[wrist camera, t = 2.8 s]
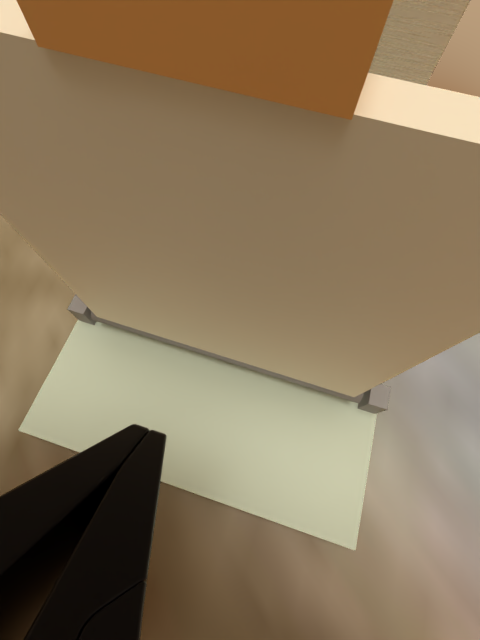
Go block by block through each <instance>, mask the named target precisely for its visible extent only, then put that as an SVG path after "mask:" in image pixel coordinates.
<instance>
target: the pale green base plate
mask: <svg viewBox="0 0 480 640" xmlns="http://www.w3.org/2000/svg"><path fill="white" fill-rule="evenodd" d="M68 310H69V311H70V312H71V313H72V314H73V315H74V316H75V317H76V318H77V319H78V321H77V323H76V325H75V327H74V328H73V330H72V332H71V334H70V336H69V338H68V339H67V341H66V343H65V345H64V347H63V349H62V351H61V352H60V354H59V356H58V358H57V360H56V362H55V363H54V365H53V367H52V369H51V371H50V373H49V375H48V376H47V378H46V380H45V382H44V384H43V386H42V387H41V389H40V391H39V393H38V395H37V397H36V399H35V400H34V402H33V404H32V406H31V408H30V410H29V411H28V413H27V415H26V417H25V419H24V421H23V423H22V424H21V426H20V428H19V430H18V431H21V432H24V433H27V434H29V435H32V436H35V437H38V438H41V439H43V440H46V441H49V442H52V443H55V444H57V445H60V446H63V447H66V448H69V449H71V450H74V451H77V452H82V451H84V450H86V449H88V448H89V447H91V446H93V445H95V444H97V443H99V442H100V441H102V440H104V439H106V438H108V437H110V436H111V435H113V434H115V433H117V432H119V431H121V430H122V429H124V428H126V427H128V426H130V425H132V424H137V425H140V426H143V427H146V428H148V429H149V430H155V431H158V432H161V433H164V434H166V436H167V438H166V445H165V452H164V460H163V467H162V474H161V482H164V483H167V484H170V485H172V486H175V487H178V488H181V489H184V490H186V491H189V492H192V493H195V494H198V495H200V496H203V497H206V498H209V499H212V500H214V501H217V502H220V503H223V504H226V505H228V506H231V507H234V508H237V509H240V510H242V511H245V512H248V513H251V514H254V515H256V516H259V517H262V518H265V519H268V520H271V521H273V522H276V523H279V524H282V525H285V526H287V527H290V528H293V529H296V530H299V531H301V532H304V533H307V534H310V535H313V536H315V537H318V538H321V539H324V540H327V541H329V542H332V543H335V544H338V545H341V546H343V547H346V548H349V549H352V550H355V551H356V544H357V538H358V532H359V525H360V519H361V512H362V506H363V500H364V493H365V487H366V481H367V474H368V468H369V462H370V455H371V449H372V443H373V436H374V430H375V423H376V417H377V413H379V412H382V411H385V410H388V404H389V397H390V390H391V387H390V386H386V385H383V384H382V383H381V384H379V385H377V386H375V387H373V388H372V389H370V390H368V391H366V392H364V394H363V397H362V399H361V401H360V402H359V403H355V402H352V401H349V400H346V399H343V398H340V397H336V396H333V395H330V394H327V393H324V392H321V391H317V390H314V389H311V388H308V387H305V386H301V385H298V384H295V383H292V382H289V381H286V380H282V379H279V378H276V377H273V376H270V375H266V374H263V373H260V372H257V371H254V370H251V369H247V368H244V367H241V366H238V365H235V364H231V363H228V362H225V361H222V360H219V359H216V358H212V357H209V356H206V355H203V354H200V353H197V352H193V351H190V350H187V349H184V348H181V347H177V346H174V345H171V344H168V343H165V342H162V341H158V340H155V339H152V338H149V337H146V336H142V335H139V334H136V333H133V332H130V331H127V330H123V329H120V328H117V327H114V326H111V325H108V324H104V323H101V322H98V321H95V320H93V319H92V318H91V310H90V309H89V308H88V307H87V306H86V305H85V304H84V303H83V302H82V300H81V299H80V298H79V297H78V296H77V295H76V294H75V296H74V298H73V300H72V302H71V303H70V305H69V307H68Z"/></svg>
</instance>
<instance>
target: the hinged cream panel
mask: <svg viewBox="0 0 480 640" xmlns="http://www.w3.org/2000/svg"><path fill="white" fill-rule="evenodd" d="M392 3H393V0H0V214H1V215H2V216H3V217H4V218H5V220H6V221H7V222H8V223H9V224H10V225H11V226H12V227H13V228H14V229H15V230H16V231H17V232H18V233H19V234H20V236H21V237H22V238H23V239H24V240H25V241H26V242H27V243H28V244H29V245H30V246H31V247H32V248H33V249H34V250H35V252H36V253H37V254H38V255H39V256H40V257H41V258H42V259H43V260H44V261H45V262H46V263H47V264H48V265H49V266H50V267H51V269H52V270H53V271H54V272H55V273H56V274H57V275H58V276H59V277H60V278H61V279H62V280H63V281H64V282H65V283H66V285H67V286H68V287H69V288H70V289H71V290H72V291H73V292H74V293H75V294H76V295H77V296H78V297H79V298H80V299H81V300H82V302H83V303H84V304H85V305H86V306H87V307H88V308H89V309H90V310H91V318H92V319H93V320H95V321H98V322H101V323H104V324H108V325H111V326H114V327H117V328H120V329H123V330H127V331H130V332H133V333H136V334H139V335H142V336H146V337H149V338H152V339H155V340H158V341H162V342H165V343H168V344H171V345H174V346H177V347H181V348H184V349H187V350H190V351H193V352H197V353H200V354H203V355H206V356H209V357H212V358H216V359H219V360H222V361H225V362H228V363H231V364H235V365H238V366H241V367H244V368H247V369H251V370H254V371H257V372H260V373H263V374H266V375H270V376H273V377H276V378H279V379H282V380H286V381H289V382H292V383H295V384H298V385H301V386H305V387H308V388H311V389H314V390H317V391H321V392H324V393H327V394H330V395H333V396H336V397H340V398H343V399H346V400H349V401H352V402H355V403H359V402H360V401H361V399H362V397H363V394H364V392H366V391H368V390H370V389H372V388H373V387H375V386H377V385H379V384H381V383H383V382H385V381H387V380H389V379H391V378H393V377H395V376H397V375H399V374H401V373H402V372H404V371H406V370H408V369H410V368H412V367H414V366H416V365H418V364H420V363H422V362H424V361H426V360H428V359H429V358H431V357H433V356H435V355H437V354H439V353H441V352H443V351H445V350H447V349H449V348H451V347H453V346H455V345H456V344H458V343H460V342H462V341H464V340H466V339H468V338H470V337H472V336H474V335H476V334H478V333H480V97H476V96H472V95H467V94H463V93H458V92H453V91H449V90H445V89H440V88H435V87H431V86H426V85H422V84H417V83H413V82H408V81H404V80H399V79H395V78H390V77H386V76H381V75H376V74H372V73H368V72H369V69H370V66H371V63H372V60H373V57H374V55H375V52H376V49H377V46H378V43H379V40H380V37H381V35H382V32H383V29H384V26H385V23H386V20H387V17H388V15H389V12H390V9H391V6H392Z"/></svg>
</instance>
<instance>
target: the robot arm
mask: <svg viewBox="0 0 480 640" xmlns="http://www.w3.org/2000/svg"><path fill="white" fill-rule="evenodd" d="M166 438H167V436H166V434H164V433H161V432H158V431H155V430H149V429H148V428H146V427H143V426H140V425H137V424H132V425H130V426H128V427H126V428H124V429H122V430H121V431H119V432H117V433H115V434H113V435H111V436H110V437H108V438H106V439H104V440H102V441H100V442H99V443H97V444H95V445H93V446H91V447H89V448H88V449H86V450H84V451H82V452H80V453H78V454H77V455H75V456H73V457H71V458H69V459H67V460H66V461H64V462H62V463H60V464H58V465H56V466H55V467H53V468H51V469H49V470H47V471H45V472H44V473H42V474H40V475H38V476H36V477H35V478H33V479H31V480H29V481H27V482H25V483H24V484H22V485H20V486H18V487H16V488H14V489H13V490H11V491H9V492H7V493H5V494H3V495H2V496H0V640H140V636H141V627H142V617H143V608H144V600H145V593H146V586H147V584H146V582H147V577H148V569H149V562H150V555H151V547H152V540H153V533H154V526H155V518H156V511H157V504H158V496H159V489H160V482H161V474H162V467H163V460H164V452H165V445H166Z"/></svg>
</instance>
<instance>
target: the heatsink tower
mask: <svg viewBox="0 0 480 640" xmlns="http://www.w3.org/2000/svg"><path fill="white" fill-rule="evenodd" d="M469 2H470V0H393V3H392V6H391V9H390V12H389V15H388V17H387V20H386V23H385V26H384V29H383V32H382V35H381V37H380V40H379V43H378V46H377V49H376V52H375V55H374V57H373V60H372V63H371V66H370V69H369V72H368V73H372V74H376V75H381V76H386V77H390V78H395V79H399V80H404V81H408V82H413V83H417V84H422V85H427V83H428V81H429V80H430V78H431V76H432V74H433V72H434V70H435V68H436V66H437V64H438V62H439V60H440V58H441V56H442V54H443V52H444V51H445V49H446V47H447V45H448V43H449V41H450V39H451V37H452V35H453V33H454V31H455V29H456V27H457V26H458V24H459V22H460V19H461V18H462V16H463V14H464V12H465V10H466V8H467V6H468V4H469Z"/></svg>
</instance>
